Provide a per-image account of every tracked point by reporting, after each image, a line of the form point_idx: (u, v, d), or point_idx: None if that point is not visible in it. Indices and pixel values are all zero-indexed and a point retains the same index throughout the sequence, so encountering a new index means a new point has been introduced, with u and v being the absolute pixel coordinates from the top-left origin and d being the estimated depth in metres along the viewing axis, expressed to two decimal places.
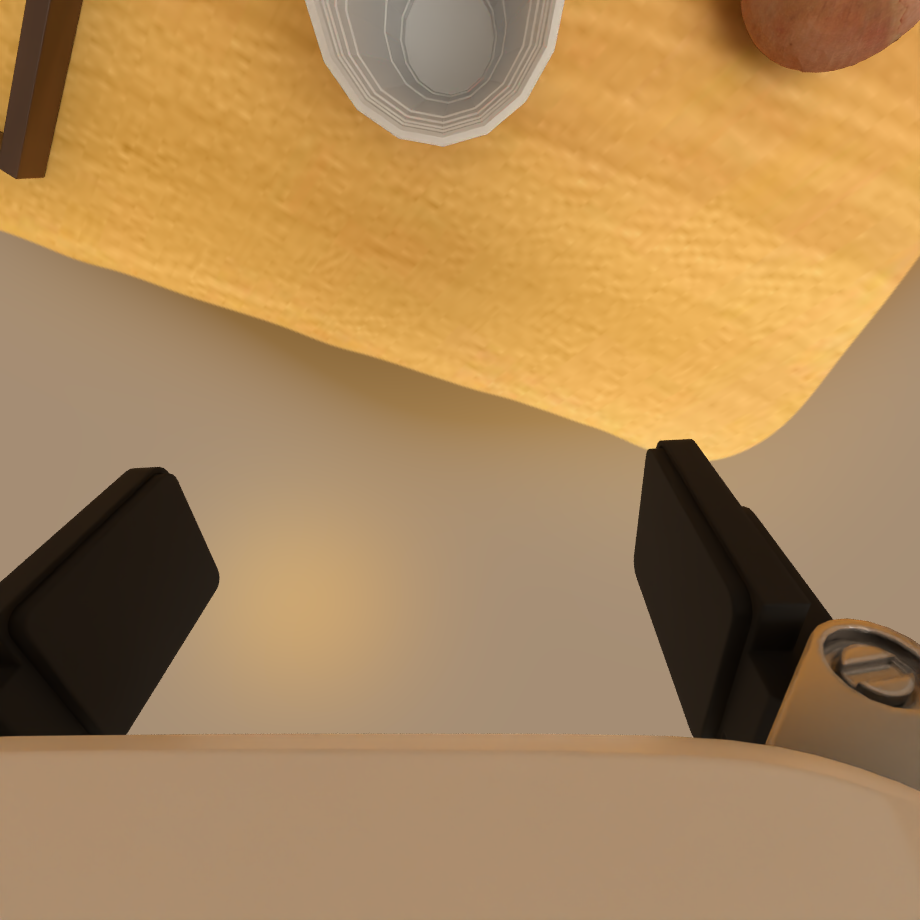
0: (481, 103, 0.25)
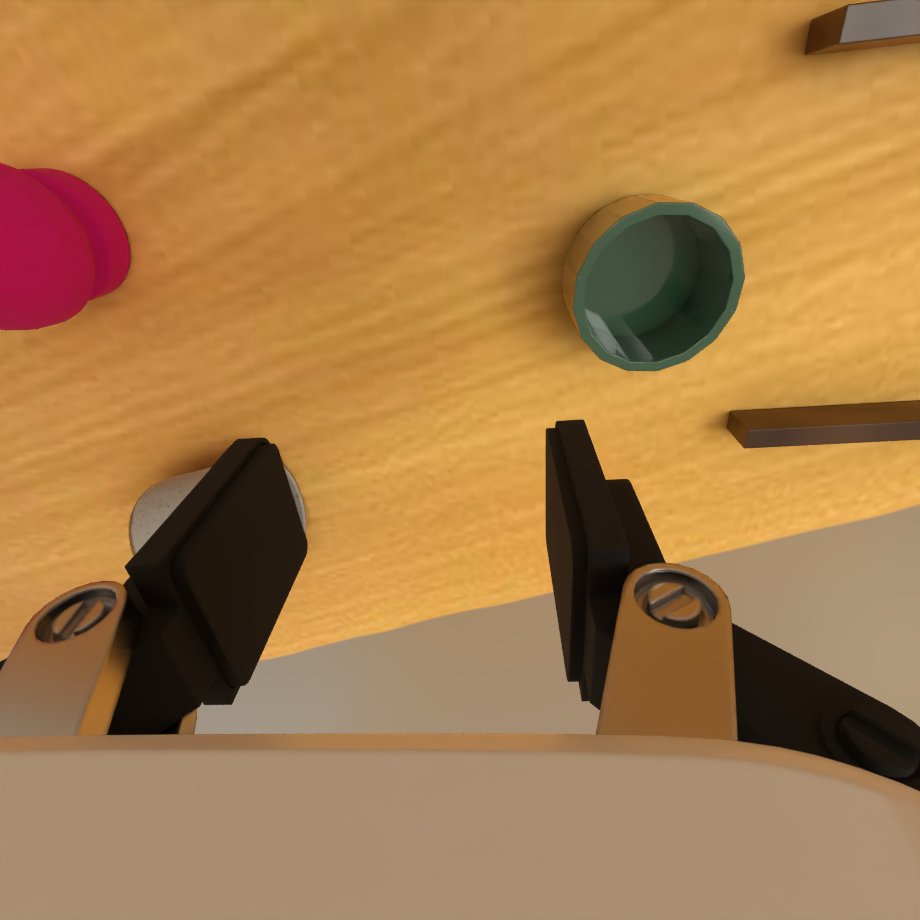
0: None
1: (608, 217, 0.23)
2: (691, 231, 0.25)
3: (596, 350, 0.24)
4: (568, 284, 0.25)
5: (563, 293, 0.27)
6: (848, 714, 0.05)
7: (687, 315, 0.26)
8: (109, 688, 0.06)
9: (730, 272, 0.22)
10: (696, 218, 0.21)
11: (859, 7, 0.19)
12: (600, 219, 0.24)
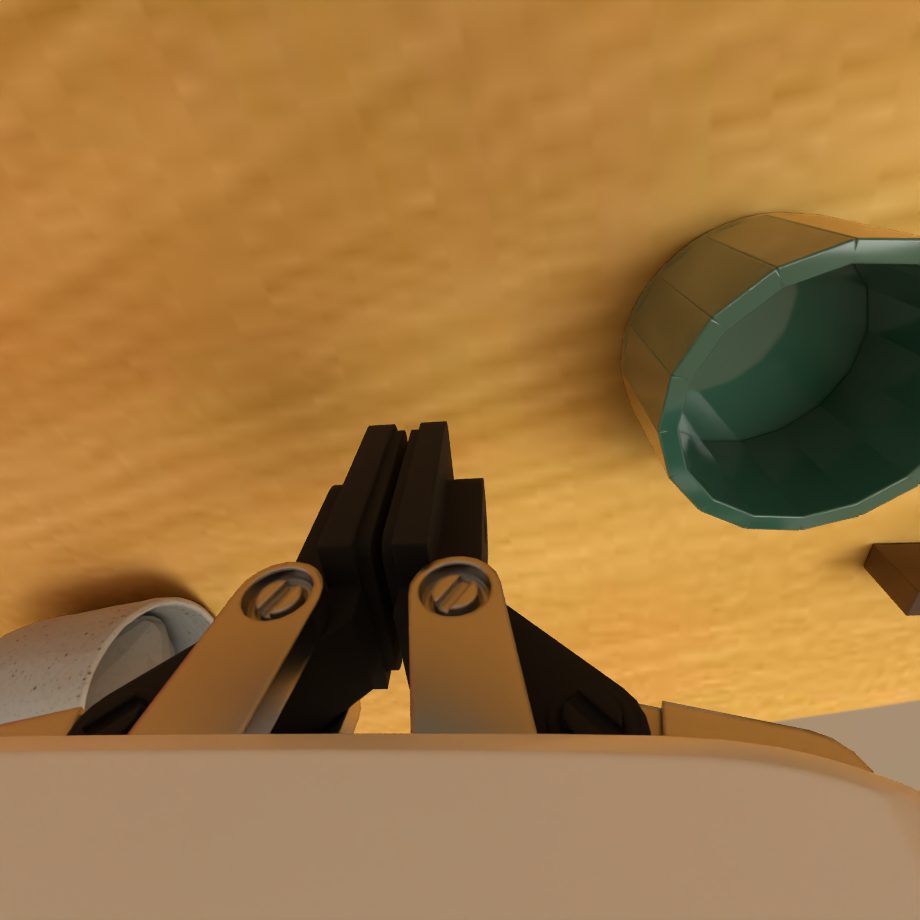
0: None
1: (731, 260, 0.12)
2: (861, 277, 0.14)
3: (694, 497, 0.13)
4: (642, 374, 0.14)
5: (625, 378, 0.16)
6: (585, 694, 0.06)
7: (839, 419, 0.15)
8: (279, 692, 0.06)
9: None
10: None
11: None
12: (708, 261, 0.13)
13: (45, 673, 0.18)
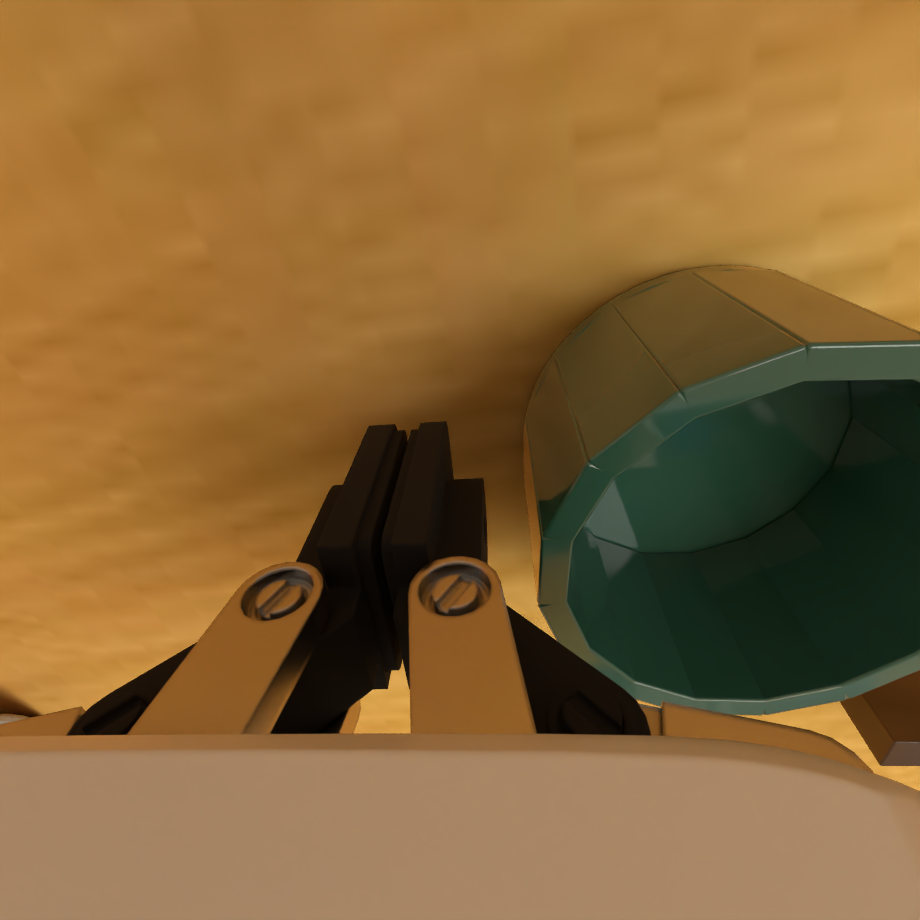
0: None
1: (630, 356, 0.08)
2: None
3: None
4: (530, 500, 0.10)
5: None
6: (585, 694, 0.06)
7: (819, 536, 0.11)
8: (278, 693, 0.06)
9: None
10: None
11: None
12: (607, 349, 0.09)
13: None
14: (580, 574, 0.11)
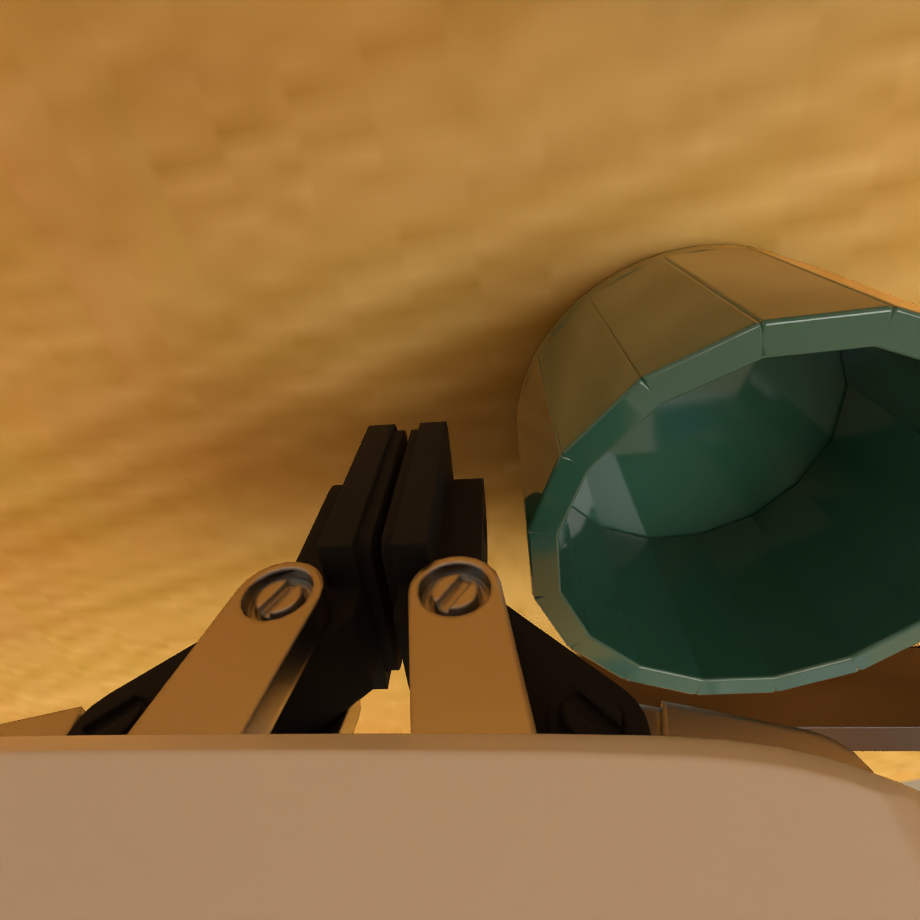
0: None
1: (600, 347, 0.08)
2: None
3: (611, 667, 0.09)
4: None
5: None
6: (585, 694, 0.06)
7: (824, 507, 0.11)
8: (279, 693, 0.06)
9: None
10: (906, 353, 0.06)
11: None
12: (581, 341, 0.09)
13: None
14: (581, 564, 0.11)
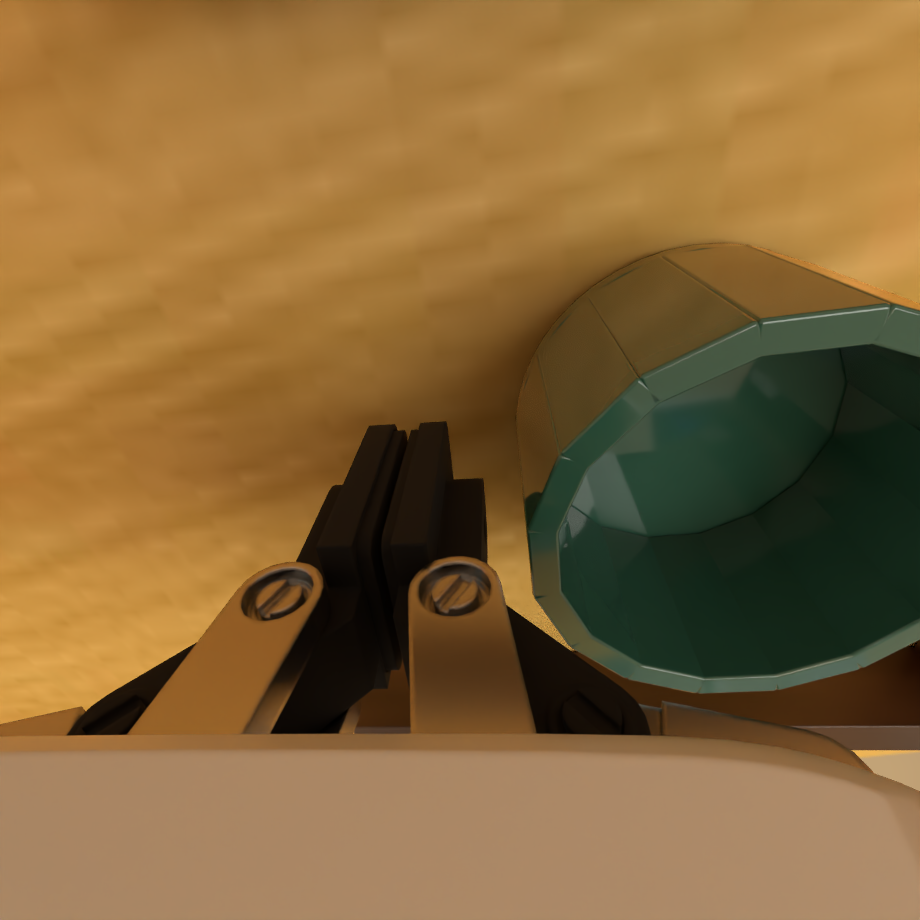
0: None
1: (599, 347, 0.08)
2: None
3: (612, 666, 0.09)
4: None
5: None
6: (586, 694, 0.06)
7: (825, 505, 0.11)
8: (278, 693, 0.06)
9: None
10: (904, 350, 0.06)
11: None
12: (580, 341, 0.09)
13: None
14: (582, 563, 0.11)
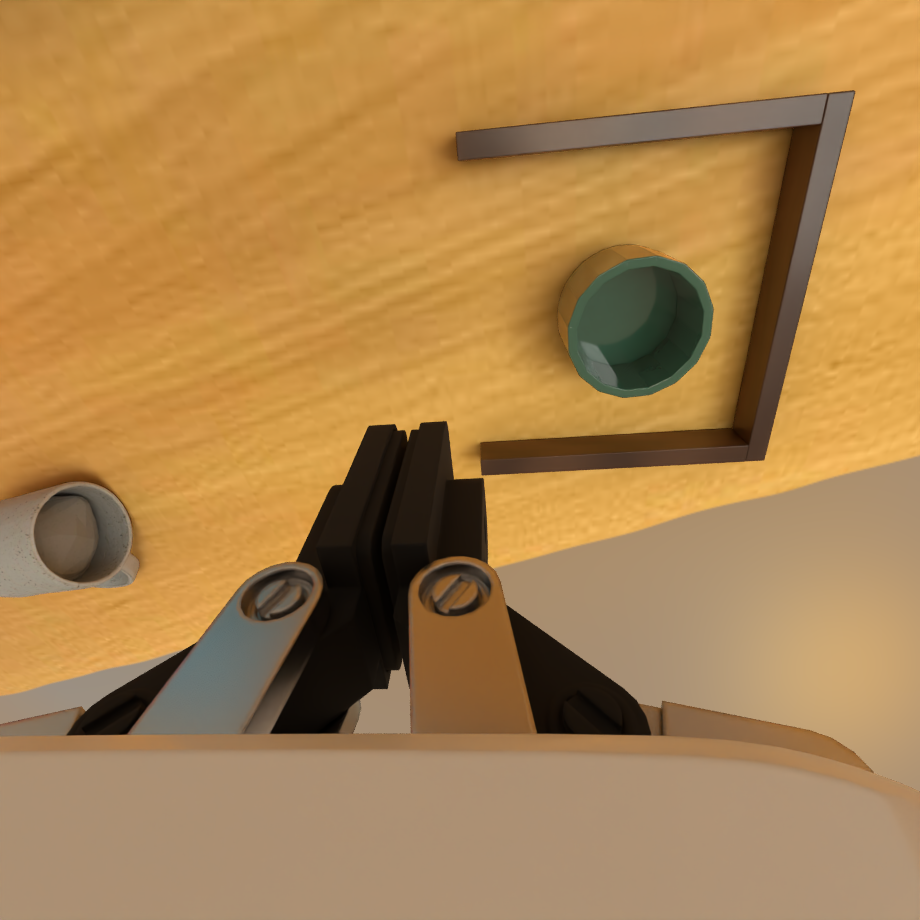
0: None
1: (588, 273, 0.27)
2: (664, 270, 0.29)
3: (594, 384, 0.28)
4: (563, 331, 0.29)
5: (560, 336, 0.30)
6: (585, 694, 0.06)
7: (672, 341, 0.30)
8: (278, 693, 0.06)
9: (700, 305, 0.26)
10: (662, 267, 0.25)
11: (465, 134, 0.24)
12: (582, 274, 0.28)
13: (14, 511, 0.33)
14: (583, 360, 0.29)
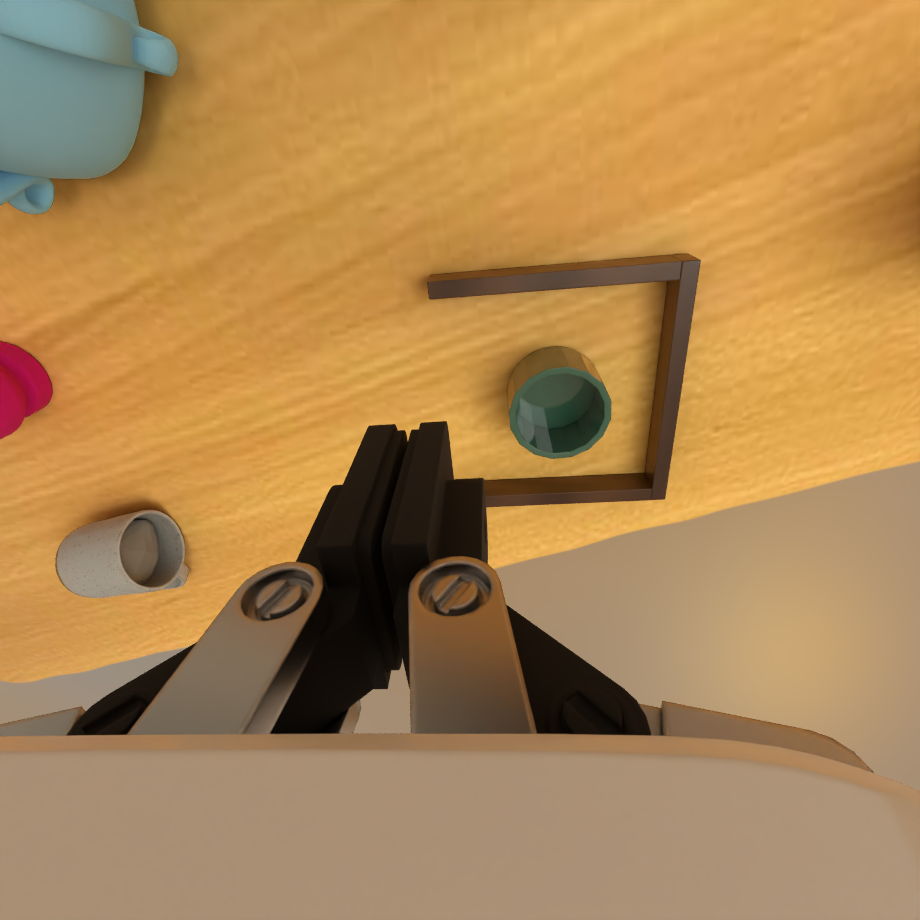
0: None
1: (524, 372, 0.37)
2: None
3: (530, 449, 0.39)
4: None
5: None
6: (586, 694, 0.06)
7: (591, 414, 0.40)
8: (279, 692, 0.06)
9: (602, 398, 0.36)
10: (572, 374, 0.35)
11: (434, 283, 0.35)
12: (521, 371, 0.38)
13: (102, 534, 0.45)
14: (524, 429, 0.40)
